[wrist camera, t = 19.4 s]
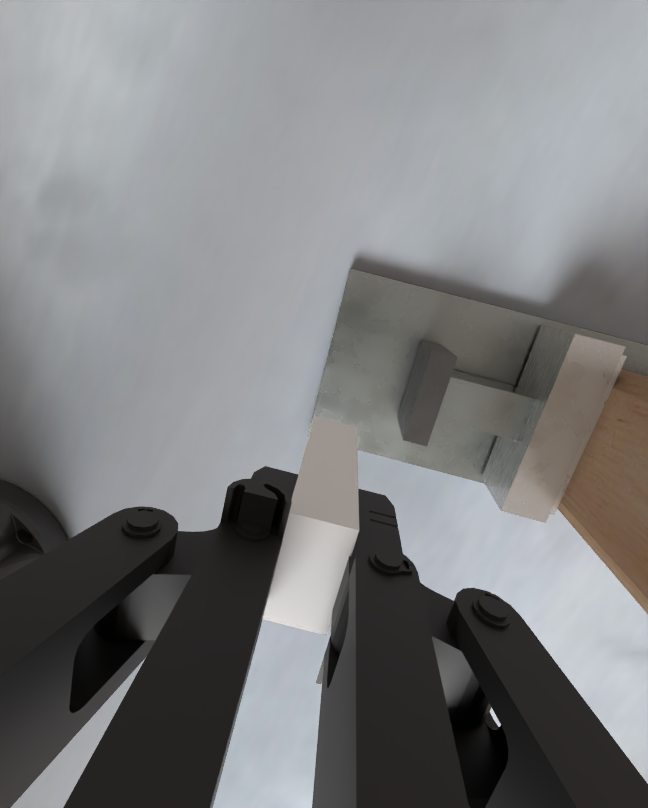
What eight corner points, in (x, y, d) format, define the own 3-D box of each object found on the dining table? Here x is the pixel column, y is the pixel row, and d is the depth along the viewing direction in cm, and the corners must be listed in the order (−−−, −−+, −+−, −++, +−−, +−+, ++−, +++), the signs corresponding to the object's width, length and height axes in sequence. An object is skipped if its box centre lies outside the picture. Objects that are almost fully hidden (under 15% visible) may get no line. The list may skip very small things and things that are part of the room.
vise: (309, 432, 35) (298, 461, 29) (350, 268, 31) (347, 265, 25) (685, 532, 34) (749, 582, 28) (773, 377, 31) (868, 400, 25)
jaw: (385, 452, 33) (389, 481, 29) (434, 297, 30) (447, 300, 25) (526, 489, 33) (554, 525, 28) (591, 338, 30) (636, 349, 25)
